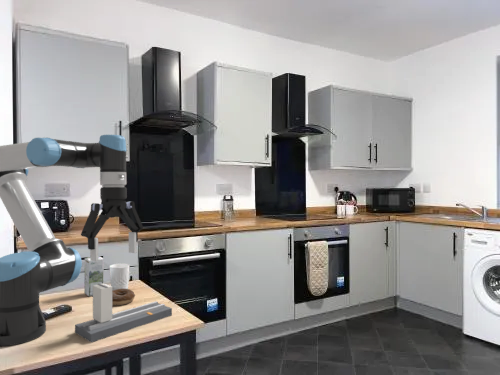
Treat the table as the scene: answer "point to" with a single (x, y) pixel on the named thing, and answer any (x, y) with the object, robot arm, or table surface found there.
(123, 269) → the white cup
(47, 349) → the table surface
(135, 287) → the table surface
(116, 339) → the table surface
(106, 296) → the fader knob
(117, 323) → the slider board
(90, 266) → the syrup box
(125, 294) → the donut
